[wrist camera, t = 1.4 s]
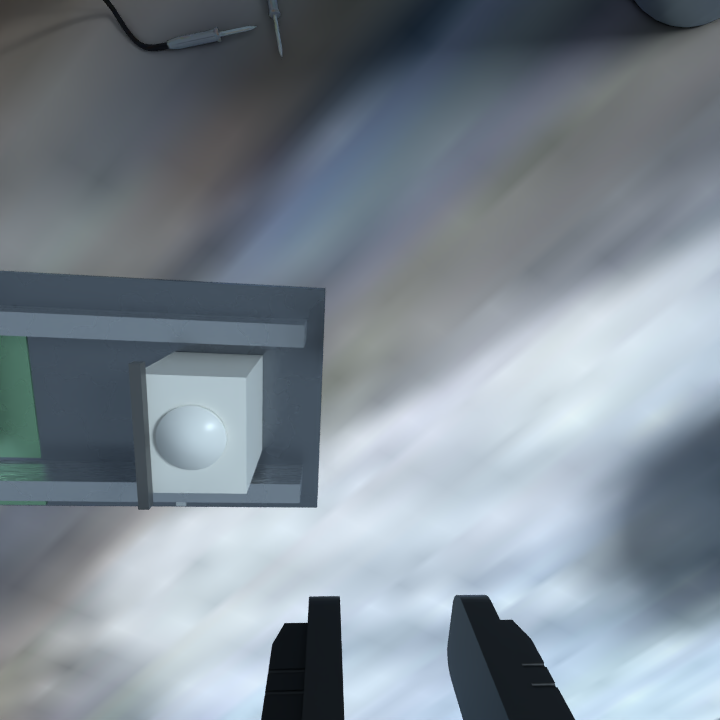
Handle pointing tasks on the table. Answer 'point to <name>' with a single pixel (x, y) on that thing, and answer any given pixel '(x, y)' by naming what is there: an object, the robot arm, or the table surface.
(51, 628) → the table surface
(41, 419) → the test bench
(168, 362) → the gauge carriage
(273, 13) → the multimeter
